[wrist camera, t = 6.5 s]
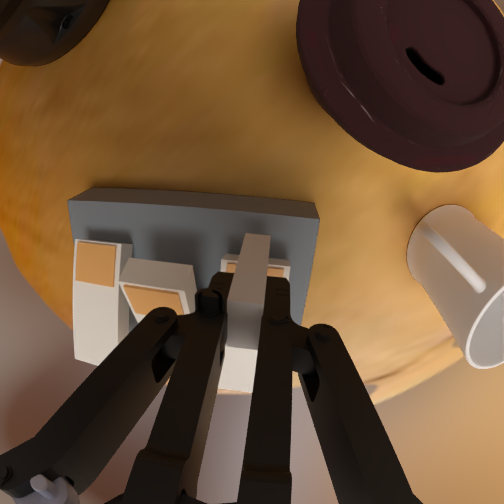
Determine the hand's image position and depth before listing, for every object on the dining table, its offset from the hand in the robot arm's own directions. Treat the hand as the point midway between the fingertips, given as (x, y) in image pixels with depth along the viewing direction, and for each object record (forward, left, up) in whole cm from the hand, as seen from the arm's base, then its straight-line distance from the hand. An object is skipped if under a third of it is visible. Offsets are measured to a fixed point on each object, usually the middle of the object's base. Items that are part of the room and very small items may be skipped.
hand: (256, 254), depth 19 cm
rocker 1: (+6, -12, 0) cm, 13 cm away
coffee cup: (-12, +6, -7) cm, 15 cm away
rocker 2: (+6, -6, 0) cm, 8 cm away
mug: (0, +16, -7) cm, 18 cm away
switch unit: (+6, -6, -7) cm, 11 cm away
